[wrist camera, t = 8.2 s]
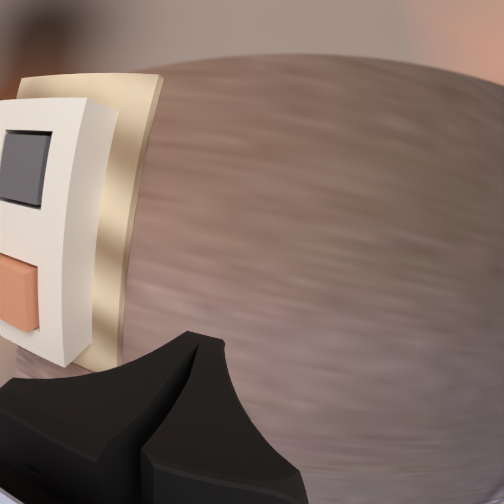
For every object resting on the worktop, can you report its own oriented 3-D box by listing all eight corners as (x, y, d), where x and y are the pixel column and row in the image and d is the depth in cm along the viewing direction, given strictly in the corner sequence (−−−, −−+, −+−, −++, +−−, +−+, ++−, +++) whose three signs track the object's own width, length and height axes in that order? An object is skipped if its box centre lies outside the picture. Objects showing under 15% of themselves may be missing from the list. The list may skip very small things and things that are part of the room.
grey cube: (72, 200, 19) (36, 204, 15) (33, 192, 19) (-3, 196, 15) (82, 142, 18) (46, 136, 14) (42, 138, 18) (5, 134, 14)
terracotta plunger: (60, 311, 20) (27, 332, 16) (23, 296, 20) (-10, 313, 16) (60, 259, 19) (24, 273, 15) (22, 246, 19) (-14, 258, 15)
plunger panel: (91, 342, 21) (64, 367, 17) (14, 309, 21) (-16, 326, 18) (118, 111, 18) (87, 97, 14) (30, 109, 18) (-5, 101, 14)
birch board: (121, 373, 23) (116, 379, 22) (8, 324, 23) (1, 328, 22) (163, 79, 18) (159, 74, 17) (29, 80, 18) (21, 78, 18)
